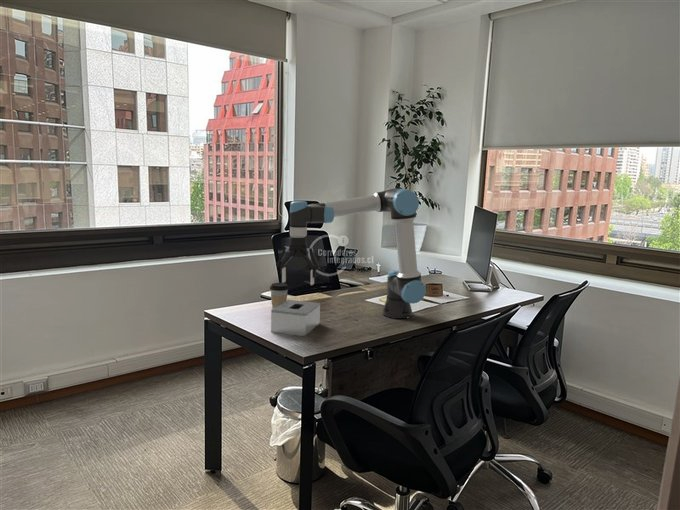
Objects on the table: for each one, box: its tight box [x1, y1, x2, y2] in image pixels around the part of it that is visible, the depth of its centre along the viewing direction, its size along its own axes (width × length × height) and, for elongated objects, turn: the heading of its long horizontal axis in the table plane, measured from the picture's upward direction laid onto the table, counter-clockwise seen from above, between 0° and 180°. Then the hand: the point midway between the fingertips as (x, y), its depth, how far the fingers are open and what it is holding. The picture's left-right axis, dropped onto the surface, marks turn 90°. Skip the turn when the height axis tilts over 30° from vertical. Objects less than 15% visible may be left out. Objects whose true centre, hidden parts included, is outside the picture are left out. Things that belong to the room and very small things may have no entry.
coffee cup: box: [269, 282, 290, 310], centre depth 245 cm, size 9×9×15 cm
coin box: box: [270, 299, 321, 337], centre depth 224 cm, size 16×20×10 cm
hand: (297, 283), depth 222 cm, fingers open, 13 cm apart
